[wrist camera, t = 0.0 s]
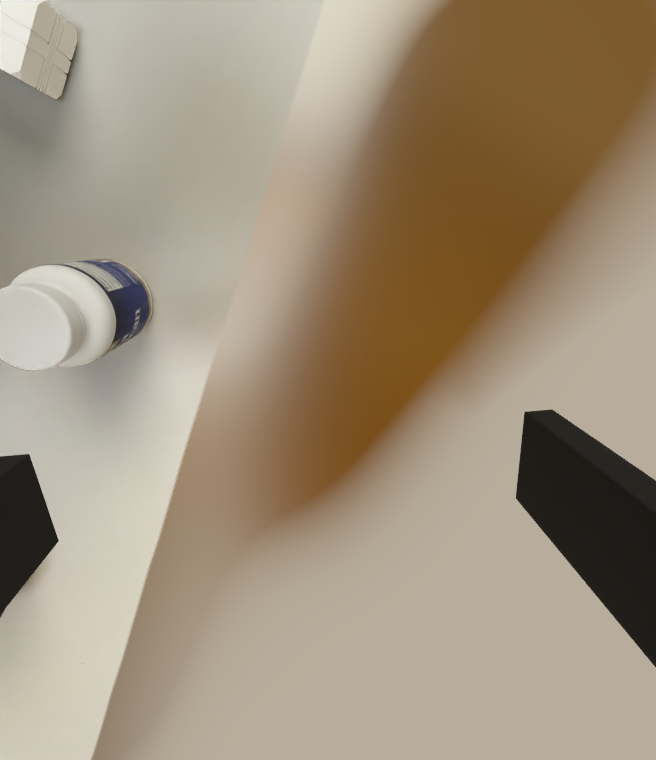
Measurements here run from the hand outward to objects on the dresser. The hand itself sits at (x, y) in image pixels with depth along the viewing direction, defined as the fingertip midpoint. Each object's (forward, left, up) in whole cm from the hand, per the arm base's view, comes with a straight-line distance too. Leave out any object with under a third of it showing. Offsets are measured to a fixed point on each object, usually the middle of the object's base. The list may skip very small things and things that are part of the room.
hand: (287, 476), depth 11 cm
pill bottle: (+7, -10, -20) cm, 23 cm away
